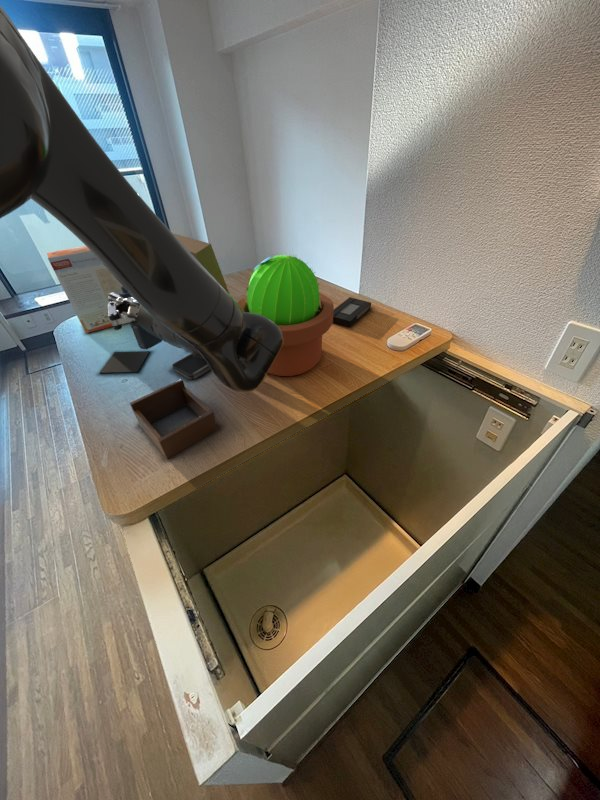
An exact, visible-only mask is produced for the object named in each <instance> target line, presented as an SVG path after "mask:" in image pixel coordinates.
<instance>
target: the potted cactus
mask: <svg viewBox="0 0 600 800" xmlns="http://www.w3.org/2000/svg"><path fill="white" fill-rule="evenodd" d="M271 256H272V257H271ZM308 263H309V262H308V261H307V262H304V261H303V260H302V258H301V257H298V255H297V254H294V253H293V254H291V253H289V255H286V252H284V254H283V255H282V254H277V255H275V256H274V254H272V255H270V256H268V257H266V258H265V259H263V260H262V261H261V262H259V263H258V265H256V266H254V268H253V273H250V272H248V273H249V275H250V278H249V279H248V280H247V282H249V283H248V286H247V287H245V288H246V289H245V291H247V294H246V296H243V297H242V298H240V300H238V302H237V304H238V305H239V306H240V308H241V310H242V312H249V313H255V314H259V315H262V316H265V317H267V318H269V319H271V320H272V321H273V322H275V323H276V324H277V325H278V326H279V328H280V329H281V331H282V333H283V336H284V344H283V347H282V349H281V351H280V353H279V354H278V356H277V358H276V359H275V361H274V363H273V365H272V366H271V368H270V370H269V371H268V373H267V374H269V375H274V376H280V377H293V376H298V375H301V374H302V375H303V374H304V373H306V372H309V371H311V370H312V369H313V368H314V367H315V366H316V365H318V363H319V362H320V361H321V358H322V352H323V351H322V350H323V349H322V348H323V335H325V334H326V333H327V332H328V331H329V330H330V329H331V327H332V325H333V311H334V309H335V308H334V302H333V301H332V300H331V298H330V297H329V296H327V295H325V294H323V293H322V291H321V292H320V287H319V286H320V285H319V282H318V279H320V277H317V276H316V275H315V272H314V271H313V267H312V266H311V267H309V265H308Z"/></svg>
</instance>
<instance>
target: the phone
mask: <svg viewBox="0 0 600 800" xmlns="http://www.w3.org/2000/svg"><path fill="white" fill-rule="evenodd" d="M172 369H173V371H174V372H176V373H178V374H179V375H182V377H185V378H186V379H188V380H196V379H197V378H199V377H201V376H202V375H204V374H206V373H207V372H209V371H212V370H211V368H210V367H209V365H208V364H207V362H206V361H205V359H202V358H200V357H198V356H196V355H194V354H192V353H190V354H188V355H186V356H184V357H183V358H181V359H179V360H177V361H176V362H174V363H173V364H172Z"/></svg>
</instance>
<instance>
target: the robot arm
mask: <svg viewBox="0 0 600 800" xmlns="http://www.w3.org/2000/svg"><path fill="white" fill-rule="evenodd" d="M30 200H32V201H33V202H35V203H36V204H37V205H38V206H40V207H41V208H42V209H44V210H45V211H46V212H47V213H49V214H50V215H51V216H52V217H54V218H55V219H56V220H57V221H58V222H59V223H60V224H62V225H63V226H64V227H65V228H66V229H67V230H68V231H70V232H71V233H72V234H73V236H75V237H76V238H77V239H78V240H79V241H81V242H82V243H83V244H84V246H87V247H88V248H89V249H90V251H91V252H92V253H93V254H94V255H95V256H96V257H97V258H98V259H99V260H100V261H101V262H102V263H103V264H104V266H105V267H106V268H107V269H108V270H109V271H110V272H111V273H112V275H113V276H114V277H115V278H116V279H117V280H118V281H119V282H120V284H121V285H122V286H123V287H124V288H125V289H126V290H127V291H128V292H129V293H130V295H131V296H132V297H133V298H131V297H128V298H123V297H122V296H120V295H117V294H115V293H110V294H109V296H110V297H108V298H109V301H110V303H108V316H109V319H110V321H111V323H112V325H113V326H112V328H113V329H114V330H115V331H119V330H121V329H123V326H124V325H126V324H130V323H131V324H132V325H139V326H141V327H142V328H143V329H144V330H145V331H146V332H148V333H149V334H151V335H153V336H155V337H157V338H159V339H161V340H162V342H165V343H166V344H169V345H171V346H173V347H176V348H179V349H181V350H185V351H186V352H188V353H190V354H194V355H196V356H198V357H200V358H202V359H205V361H206V362H207V364H208V365H209V367H210V368H211V370H210V371H211V372H212V373H213V375H214V376H215V377H216V378H217V379H218V380H219V381H220V382H221V383H222V384H223V385H224V386H225V387H227V388H228V389H230V390H232V391H234V392H237V393H242V394H243V393H245V394H246V393H251V392H253V391H256V390H257V389H258V388H259V387H260V386H261V385H262V383H263V382H264V380H265V379H266V377H267V375H268V374H269V373H268V371H269V370H270V368H271V366H272V365H273V363H274V361H275V359H276V358H277V356H278V354H279V353H280V351H281V349H282V347H283V344H284V336H283V333H282V331H281V329H280V328H279V326H278V325H277V324H276V323H275V322H273V321H272V320H271V319H269V318H267V317H265V316H262V315H259V314H255V313H249V312H242V310H241V308H240V306H239V305H238V304H237V303H238V302H237V301H236V300H235V298H234V297H233V296H231V294H230V292H229V293H228V292H227V291H226V290H225V289H224V288H223V287H222V286H221V285H220V284H219V283H218V282H217V281H216V279H215V278H214V277H213V276H212V275H211V274H210V273H209V272H208V271H207V270H206V269H205V268H204V267H203V266H202V265H201V263H200V262H199V261H198V260H197V259H196V258H195V257H194V256H193V255H192V254H191V253H190V252H189V251H188V250H187V249H186V247H185V246H184V245H183V244H182V243H181V242H180V241H179V240H178V239H177V238H176V237H175V236H174V234H175V233H174V232H172V231H171V230H170V228H169V227H167V226H166V224H165V223H164V222H163V221H162V220H161V218H159V217H158V216H157V214H156V213H155V212H154V211H153V210H152V209H151V207H150V206H149V205H148V204H147V203H146V201H145V200H144V199H143V198H142V197H141V195H139V193H138V192H137V191H136V190H135V189H134V188H133V186H132V185H131V184H130V182H129V181H128V180H127V179H126V178H125V176H124V175H123V174H122V172H121V171H120V170H119V169H118V167H117V166H116V165H115V164H114V163H113V161H112V160H111V159H110V157H109V156H108V154H107V153H106V152H105V151H104V149H103V148H102V147H101V145H100V144H99V142H97V140H96V139H95V137H94V136H93V135H92V134H91V132H90V131H89V130H88V129H87V127H86V126H85V124H84V122H83V121H82V120H81V118H80V117H79V116H78V114H77V113H76V111H75V110H74V109H73V107H72V106H71V104H70V103H69V102H68V100H67V99H66V98H65V95H64V94H63V93H62V92H61V90H60V89H59V87H58V86H57V84H56V83H55V82H54V80H53V79H52V77H51V76H50V75H49V73H48V72H47V70H46V69H45V68H44V66H43V65H42V63H41V62H40V60H39V58H38V57H37V55H36V54H35V53H34V52H33V50H32V49H31V47H30V46H29V44H28V43H27V42H26V40H25V39H24V37H23V36H22V35H21V33H20V31H19V30H18V28H17V26H16V24H15V23H14V22H13V21H12V19H11V17H10V16H9V14H8V13H7V12H6V11H5V9H4V8H3V7H2V6H1V5H0V220H1V219H3V218H5V217H7V216H9V215H10V214H11V213H13V212H14V211H16V210H18V209H20V208H21V207H23V206H24V205H25V204H26V203H27V202H29V201H30ZM173 233H174V234H173ZM229 294H230V295H229ZM120 313H123V314H126V315H123V314H120Z"/></svg>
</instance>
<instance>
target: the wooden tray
mask: <svg viewBox="0 0 600 800" xmlns="http://www.w3.org/2000/svg"><path fill="white" fill-rule="evenodd" d="M129 405H130V407H131V410H132V412H133V413H134V416H135V418H136V420H137V422H138V424H139V426H140V427H141V428H142V430H143V431H144V433H145V434H146V435H147V436H148V437H149V438H150V440H151V441H152V442H153V443H154V444H155V446H156V447H157V448H158V450H159V451H160V452H161V453H162V455H163V456H164V457H165V458H166V459H169V458H171V457H173V456H174V455H176V454H178V453H179V452H181V451H183V450H184V449H186V448H188V447H189V446H191V445H193V444H195V443H196V442H198V441H199V440H201V439H204V438H205V437H206V436H208V435H210V434H212V433H213V432H215V431H217V430H218V424H217V421H216V416H215V413H214V411H213V410H211V409H210V408H209V406H207V405H206V403H204V402H203V401H202V400H201V399H200V398H199V397H197V396H196V395H195V394H194V393H193V392H192V391H191V390H190V389H189V388H188V387H186V385H185V382H184V380H183V379H182V378H180V379H178V380H175V381H174V382H172V383H170V384H167V385H165V386H163V387H161V388H159V389H157V390H155V391H152V392H150V393H148V394H146V395H144V396H141V397H139V398H136V399H135V400H133V401H130V402H129ZM186 405H187V406H188V407H189V408H190V409H191V410H192V411H193V412H194V413H195V414H196V415H197V416H198V417H196V418H195V419H193V420H190V421H189V422H187V423H186V424H184V425H182V426H179V428H176V429H175V430H173V431H170V432H169V433H167V434H166V435H164V436H162V435H160V433H159V432H158V431H157V430H156V428H155V427H154V426H153V424H151V423H153V422H155V421H157V420H159V419H161V418H162V417H164V416H165V417H166V416H167V415H169V414H171V413H173V412H174V411H177V410H178V409H181V408H182V407H185V406H186Z"/></svg>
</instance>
